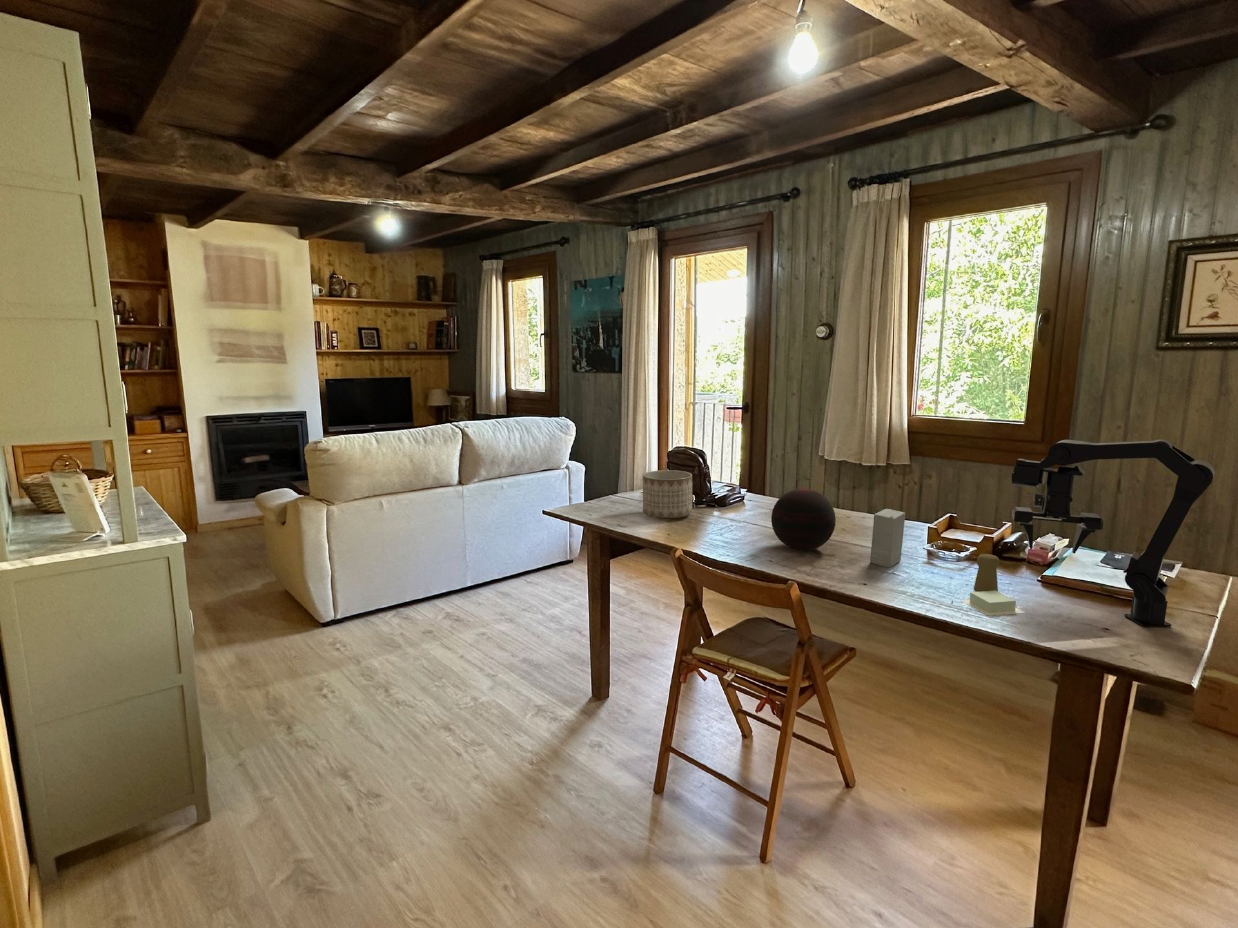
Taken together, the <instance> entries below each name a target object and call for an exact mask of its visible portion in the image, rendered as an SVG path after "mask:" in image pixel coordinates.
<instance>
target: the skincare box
mask: <svg viewBox="0 0 1238 928" xmlns="http://www.w3.org/2000/svg"><path fill="white" fill-rule="evenodd" d="M905 522H906V512H903V511H899V510H894V509H889V508H885V509H882V510H880V511H879V512H876V513H874V514H873V523H872V524H873V525H872V538H871V549H870V560H869V563H870V564H874V565H878V566H881V567H885V568H892V567H893V566H894V565H896V564H897V563H899V562H901V559H902V551H903V543H904V542H903V540H904V530H905Z"/></svg>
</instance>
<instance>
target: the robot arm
mask: <svg viewBox="0 0 1238 928" xmlns="http://www.w3.org/2000/svg"><path fill="white" fill-rule="evenodd" d="M1125 459H1156V460H1158V461H1159V462H1160V463H1161V464H1162V465H1164V466H1165V468H1167V469H1168V470H1170V472H1172V473H1174V475H1176V476H1177V481H1176V484H1175V488H1174V492H1173V497H1172V499H1171V501H1170V503H1169V505H1168V507H1167V509H1166V511H1165V512H1164V515H1163V516H1162V517H1161V520H1160V522H1159V524H1158V526H1157V528H1156V530H1155V531H1154V533H1153V535H1152V537H1151V539H1150V541H1149V543H1148V545H1147V547H1146V548H1145V550H1143V551H1142V553H1138V552H1137V551H1134V552H1133V553H1132V555H1131V557H1130V559H1129V562H1128V564H1127V565H1126V566H1125V568H1124V569H1123V571H1122V573H1123V574H1125V575H1124V581H1125V583H1126V585H1127V587H1129V588H1130V589H1131V590H1132V591H1133V595H1132V599H1131V607H1130V613H1124V617H1125V618H1128V619H1129V620H1131V621H1133V622H1135V623H1137V624H1138V625H1140V626H1142V627H1156V628H1157V627H1172V623H1170V622H1169V621H1166V616H1167V615H1166V614H1167V608H1168V600H1167V598H1166V596H1167V594H1168V591H1169V589H1170V586H1169V584H1168V583H1166V581H1164V580H1163V579H1162V577H1160V574H1161V570H1162V566H1163V563H1164V560H1165V555H1166V553H1167V551H1168V550H1169V549H1170V546H1171V545H1172V542H1173V541H1174V539H1175V537H1176V535H1177V534H1178V532H1179V530H1180V528H1181V526H1182V524H1183V522H1184V520H1185V519H1186V517H1187V515H1188V513H1189V511H1190V509H1191V508H1192V506H1193V504H1195V502H1196V501H1197V500H1198V499H1199V498H1200V497H1201V496H1202V495H1203V493H1204V492H1205V491H1206V490H1207V489H1208V488H1209V487H1210V486H1211V485H1212V483H1213V480H1214V478H1215V475H1216V470H1215V468H1214V466H1213V465H1212V464H1211V463H1209V462H1207V461H1205V460H1202V459H1201V460H1199V459H1198V460H1197V459H1195V458H1194V457H1192V456H1191V455H1190V454H1188V453H1186V452H1184V451H1183V450H1181V449H1180V448H1178V447H1177V446H1175V445H1173V444H1172V443H1171V442H1170V441H1169V440H1166V439H1156V440H1144V441H1143V440H1142V441H1119V442H1089V441H1083V440H1074V439H1063V440H1060V441H1058V442H1055V443H1054V444H1052V445H1051V446H1050V448H1049V449H1048V453H1047V456H1046V457H1044V458H1043V459H1041V460H1040V461H1038V460H1037V461H1036V460H1029V459H1028V460H1027V459H1024V458H1018V459H1016V460H1015V465H1014V468H1013V470H1012V471H1013V472H1012V473H1011V484H1012V485H1014V486H1021V487H1029V488H1036V489H1037V488H1039V487H1040V486H1041V485H1044V484H1045V483H1046V486H1045V494H1044V495H1043V494H1041V493H1034V494H1033V497H1032V507H1034V508H1035V507H1037V508H1040V512H1039V511H1038V512H1036V511H1033V510H1032V509H1031V507H1023V506H1015V507H1013V508H1012V510H1011V518H1012V520H1013V522H1015V523H1018V525H1019V526H1022V527H1023V529H1024V531H1025V535H1026V537H1027V543H1028V546H1029V549H1030V550H1032V549H1033V546H1034V524H1033V522H1032V521H1033V520H1035V521H1036V520H1037V521H1047V522H1048V521H1049V522H1059V523H1069V524H1076V531H1075V536H1074V540H1073V543H1072V544H1073V545H1072V550H1071V551H1072V554H1076V553H1077V552H1078V550H1079V548H1080V547H1081V545H1082V544H1083V543H1084V540H1086V539H1087V538H1088V537H1089V535H1090V534H1093V533H1096V532H1097V531H1098V530H1099V531H1102V530H1103V529H1104V519H1102V517H1100V515H1099V514H1097V513H1093V512H1092V513H1091V512H1080V513H1079V515H1072V514H1071V512H1072V505H1073V496H1074V489H1075V482H1076V476H1078V477H1083V476H1084V475H1085V474H1086V470H1084V469H1083V468H1082V467H1081V466H1080V463H1084V462H1089V461H1094V460H1125ZM1074 464H1076V465H1075V466H1069V465H1074ZM1056 465H1057V466H1058V468H1051V467H1054V466H1056Z"/></svg>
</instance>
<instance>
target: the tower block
mask: <svg viewBox="0 0 1238 928" xmlns="http://www.w3.org/2000/svg"><path fill="white" fill-rule="evenodd" d="M969 599H970V602H971V603H973V604H974V605H976V606H978V607H980V608H981V609H983V610H985V611H987V612H988V613H990V612H1003V611H1015V607H1016V605H1017V600H1015V599H1013V598H1012V597H1009V596H1008V595H1005V594H1004V593H1002V592H1000V591H999V590H998V591H996V590H995V591H982V592H977V591H970V593H969ZM1016 608H1017V607H1016Z"/></svg>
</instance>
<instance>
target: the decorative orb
mask: <svg viewBox="0 0 1238 928" xmlns="http://www.w3.org/2000/svg"><path fill="white" fill-rule="evenodd" d="M836 517H837V516H836V513H835V509H834V508H833V505H832V504H831V502H830V501H829V499H828V498H827V497H826V496H825V495H823V494H822V493H820V492H818V491H816V490H814V489H811V488H795V489H792V490H789V491H788V492H786V493H784V494H782V495H781V496H780V497H779V499H778V500H777V501H776V503H775V504H774V506H773V508H772V511H771V516H770V518H771V519H770V520H771V521H770V522H771V526H772V530H773V532H774V534H775V536H776V537H777V539H778V540H779V541H780V542H781V543H782V544H783V545H784V546H786V547H788V548H791V549H792V550H796V551H802V552H803V551H804V552H806V551H807V552H808V551H813V550H816V549H819V548H820V547H822V546H824V544H826V543H827V542H828V541H829V540H830V539H831V537H832V535H833V533H834V531H835V528H836V522H837V521H836Z"/></svg>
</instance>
